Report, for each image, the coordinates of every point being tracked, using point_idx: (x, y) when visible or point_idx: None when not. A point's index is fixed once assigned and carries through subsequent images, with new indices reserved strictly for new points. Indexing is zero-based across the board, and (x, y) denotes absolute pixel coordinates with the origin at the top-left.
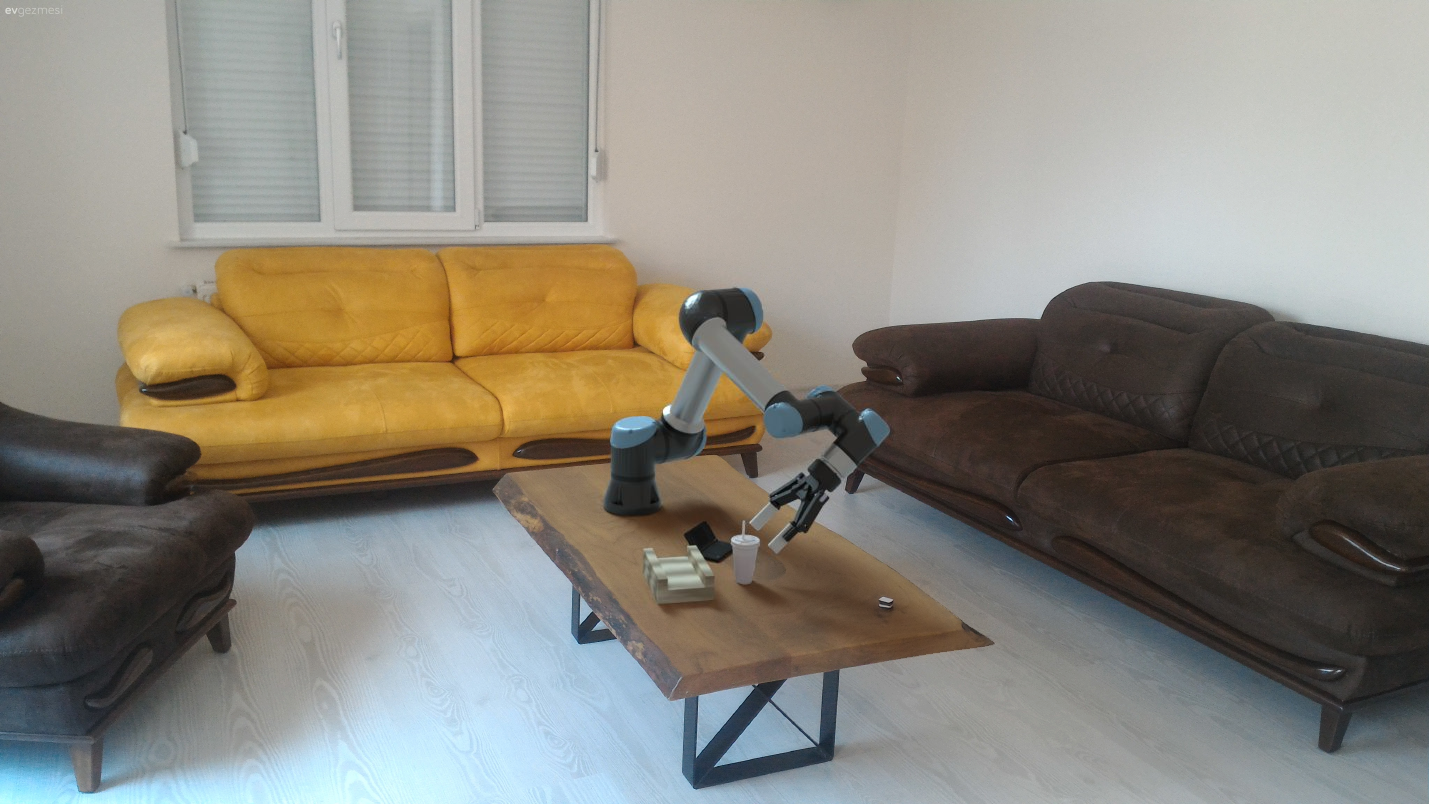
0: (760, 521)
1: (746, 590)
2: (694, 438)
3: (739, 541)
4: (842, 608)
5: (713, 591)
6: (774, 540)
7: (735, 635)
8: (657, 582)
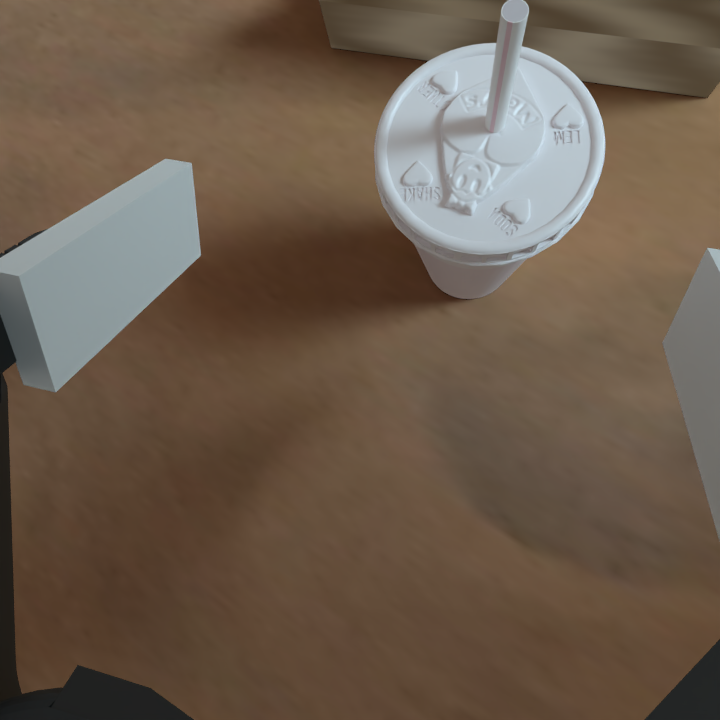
0: (699, 347)
1: (363, 221)
2: None
3: (473, 89)
4: (14, 537)
5: (323, 15)
6: (129, 181)
7: (30, 12)
8: None
